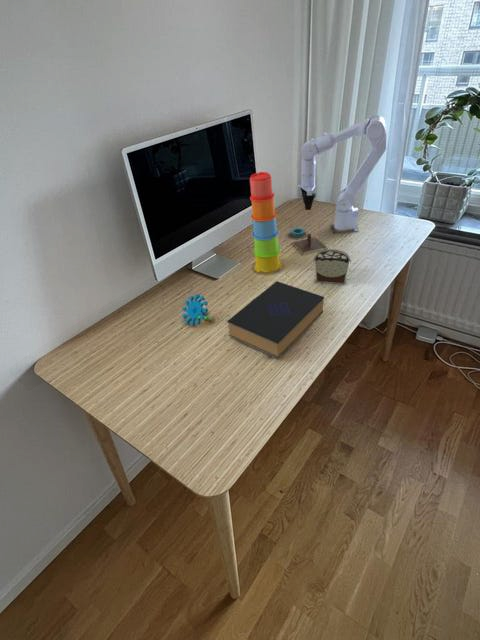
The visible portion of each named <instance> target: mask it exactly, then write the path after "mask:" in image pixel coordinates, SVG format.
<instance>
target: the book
mask: <svg viewBox="0 0 480 640" xmlns="http://www.w3.org/2000/svg"><path fill="white" fill-rule="evenodd" d="M324 300H325V296H322V295H320V294H317V293H314V292H312V291H308V290H305V289H302V288H299V287H295V286H292V285H290V284H287V283H284V282H280V281H278V280H276V281H274V283H272V284H271V285H270V286H268V287H267V288H266V289H265V290H264V291H262V292H261V293H260V294H259V295H258V296H256V297H255V298H254V299H253V300H251V301H250V302H249V303H247V305H245V306H244V307H243V308H242V309H240V310H239V311H238V312H237V313H235V314H234V315H233V316H232V317H231V318H229V319H228V320H227V321H226V323H227V325H228V332H229V333H228V334H229V335H228V337H230V338H232V339H234V340H236V341H238V342H240V343H242V344H244V345H246V346H249V347H250V348H253V349H256V350H257V351H260V352H261V353H264V354H266V355H268V356H270V357H273V358H275V359H277V360H279V359H280V358H281V357H282V356H283V355H284V354H285V353H286V352H287V351H288V349H290V347H292V346H293V344H295V342H296V341H297V340H298V339H299V338H300V337H301V336H302V335H304V333H305V332H306V331H307V330H308V329H309V328H310V327H311V326H312V325H313V324H314V323H315V322H316V321H317V320H318V319H319V318H320V317H321V316H322V315H323V314H324Z"/></svg>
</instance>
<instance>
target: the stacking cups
mask: <svg viewBox="0 0 480 640" xmlns="http://www.w3.org/2000/svg"><path fill="white" fill-rule="evenodd" d="M249 186H250V196H249V199H250V202H251V212H252V214H251V216H250V217H251V220H252V227H253V231H252V235H251V236H252V237H253V243H254V248H253V251H252V253H253V254H254V256H255V258H254V259H255V264H254V265H253V268H254V270H255V272H257V273H259V274H261V275H271V274H275V273H276V272H275V271H276V270H280V269H281V268H282V263H281V261H280V252H281V247H280V246H279V240H278V238H279V237H278V235H279V230H278V229H277V219H276V217H277V212H276V210H275V193H274V192H273V182H272V175H271V174H270V172H267V171H258V172H254V173H252V174H251V175H250V178H249Z"/></svg>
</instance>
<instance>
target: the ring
mask: <svg viewBox="0 0 480 640" xmlns="http://www.w3.org/2000/svg"><path fill="white" fill-rule="evenodd" d="M290 235H291V236H292V237H295V238H296V237H297V238H299V237H303V236H305V235H306V231H305V229H304V228H302V227H295V228H292V229H291V230H290Z"/></svg>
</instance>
